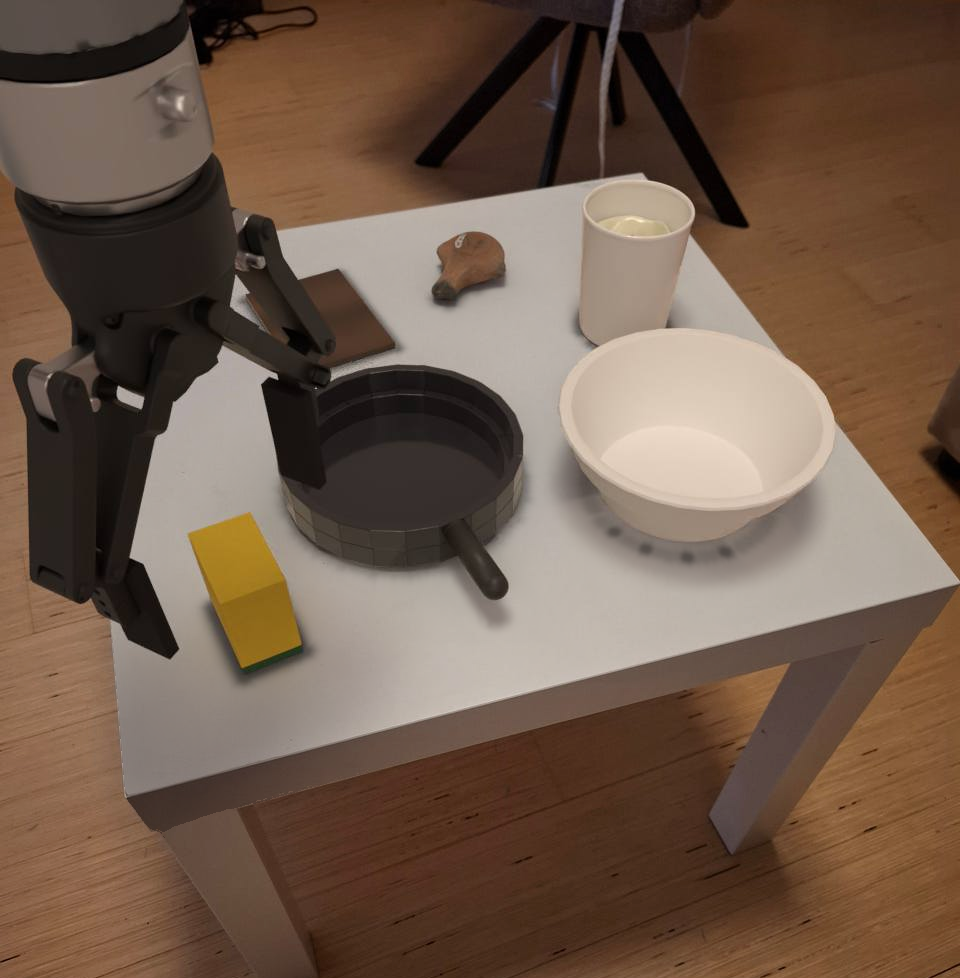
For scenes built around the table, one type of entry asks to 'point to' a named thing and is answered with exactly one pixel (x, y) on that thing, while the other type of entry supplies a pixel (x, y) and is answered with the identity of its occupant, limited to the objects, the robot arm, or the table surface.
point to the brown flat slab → (338, 319)
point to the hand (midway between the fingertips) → (234, 556)
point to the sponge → (247, 591)
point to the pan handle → (476, 560)
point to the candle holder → (631, 256)
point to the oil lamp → (468, 262)
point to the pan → (408, 465)
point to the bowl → (694, 430)
